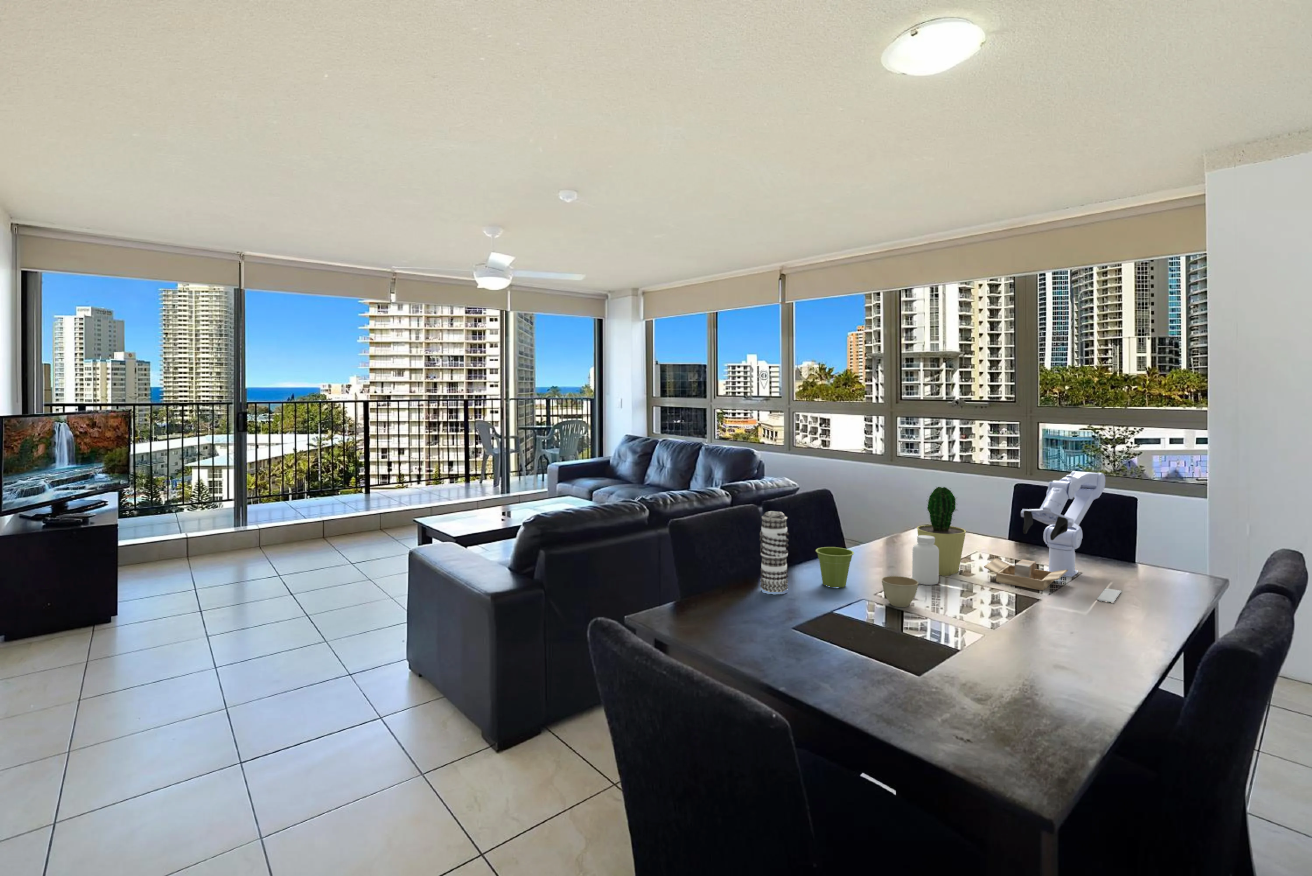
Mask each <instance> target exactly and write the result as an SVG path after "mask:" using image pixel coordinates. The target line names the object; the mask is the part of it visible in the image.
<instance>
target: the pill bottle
mask: <svg viewBox="0 0 1312 876" xmlns="http://www.w3.org/2000/svg"><path fill="white" fill-rule="evenodd" d="M934 542H935V537H933V536H927V535H919V536H918V535H917V536H916V543H915V544H914V545H913V546H912V549H911V550H912V552H911V553H912V554H911V555H912V559H911V560H912V561H911V564H912V565H911V568H912V569H911V572H912V573H911V578H912V579H915V580H916V581H918V585H925V586H933V585H937V584H939V579H940V577H939V576H940V575H939V549H938V547H937V546H936V545H934Z"/></svg>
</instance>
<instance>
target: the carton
mask: <svg viewBox="0 0 1312 876" xmlns="http://www.w3.org/2000/svg"><path fill="white" fill-rule="evenodd" d="M983 567H984V568H985V569H986V570H987V571H990V572H992V573H995V574H996V577H995V578H996V579H995V581H996V583H999V584H1005V585H1011V586H1012V585H1013V586H1018V587H1022V588H1027V589H1033V590H1039V591H1044V590H1046V589H1047V588H1048V587H1049V586H1050V585H1051V584H1052V583H1054V582H1055V581H1058V580H1060V579H1061V577H1063V576H1065V575H1064V574H1065V573H1066V572H1067V571H1068V569H1067V570H1060V571H1054V572H1051V571H1047V570H1044V569H1036V572H1035V579H1032V578H1026V577H1020V576H1015V564H1014V565H1013V564H1009V563H1008V562H1005V561H1003V560H1002V559H999V558H994V559H993V560H992V561H990V562H988V563H986V564H985V565H983Z"/></svg>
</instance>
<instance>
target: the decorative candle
mask: <svg viewBox="0 0 1312 876" xmlns="http://www.w3.org/2000/svg"><path fill="white" fill-rule="evenodd" d="M787 519H788V516H786V515H785V513H783V512H782V511H775V510H770V511H766V512H764V514H763V515H762V516H761V520H762V521H761V527H760V529H761V530H760V532H759V541H760V544H759V547H760V549H759V552H760V556H761V564H760V565H761V568H760V569H759V570H760V577H761V578H760V580H759V581H760V589H761V588H762V589H763V590H765V591H768V592H783V591H785V590H786V589H787V590H788V588H789V585H788V583H789V580H788V579H787V578H788V577H789V575H788V573H789V569H788V563H787V557H788V555H789V551H788V549H787V548H788V547H789V546H790V545H789V544H788V542H789V541H790V540H789V538H787V536H790V533H789V531H788V526H787Z"/></svg>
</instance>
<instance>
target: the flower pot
mask: <svg viewBox="0 0 1312 876" xmlns="http://www.w3.org/2000/svg"><path fill="white" fill-rule="evenodd" d="M881 585H882V588H883V592H884V595H885V597H886V599H887V601H888V602H889V604H890V605H891V606H892V607H897V608H907V607H909V606H910V605H911V603H913V600H914V598H915V597H916V594H917V592H918V589H919V584H918V581H916V580H915V579H912V577H907V576H901V575H889V576H888V575H887V576H884V577H882V578H881Z"/></svg>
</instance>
